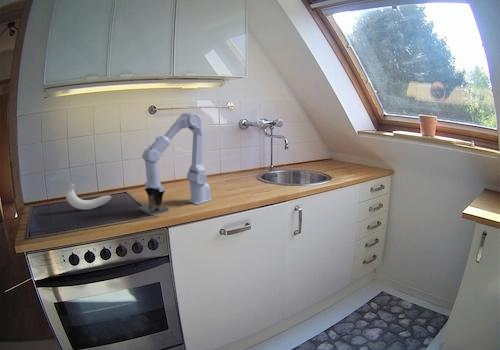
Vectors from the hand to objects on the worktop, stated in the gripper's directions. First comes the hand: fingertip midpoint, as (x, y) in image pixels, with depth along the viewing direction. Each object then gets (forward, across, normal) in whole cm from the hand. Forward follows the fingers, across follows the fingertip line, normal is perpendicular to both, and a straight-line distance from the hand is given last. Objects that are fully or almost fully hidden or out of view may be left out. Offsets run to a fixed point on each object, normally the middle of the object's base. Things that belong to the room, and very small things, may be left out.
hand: (155, 203), depth 150 cm
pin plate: (+4, -3, 0) cm, 5 cm away
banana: (+4, -28, -20) cm, 35 cm away
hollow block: (+1, 0, 0) cm, 1 cm away
